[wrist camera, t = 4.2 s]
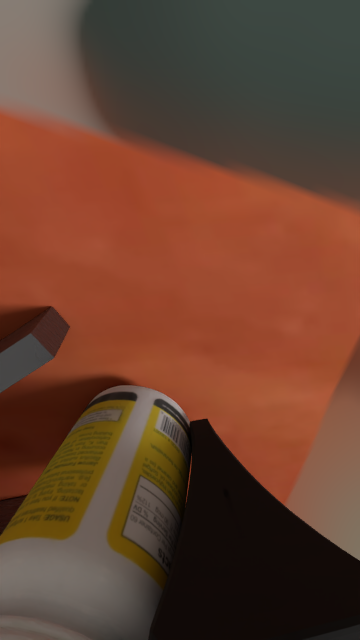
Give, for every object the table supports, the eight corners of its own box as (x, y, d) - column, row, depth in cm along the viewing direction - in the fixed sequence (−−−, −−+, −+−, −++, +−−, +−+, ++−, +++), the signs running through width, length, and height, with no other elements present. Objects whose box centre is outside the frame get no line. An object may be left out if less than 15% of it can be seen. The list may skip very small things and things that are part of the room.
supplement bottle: (78, 448, 13) (-119, 777, 6) (97, 365, 12) (-160, 689, 4) (176, 482, 13) (110, 864, 6) (210, 405, 12) (181, 816, 4)
